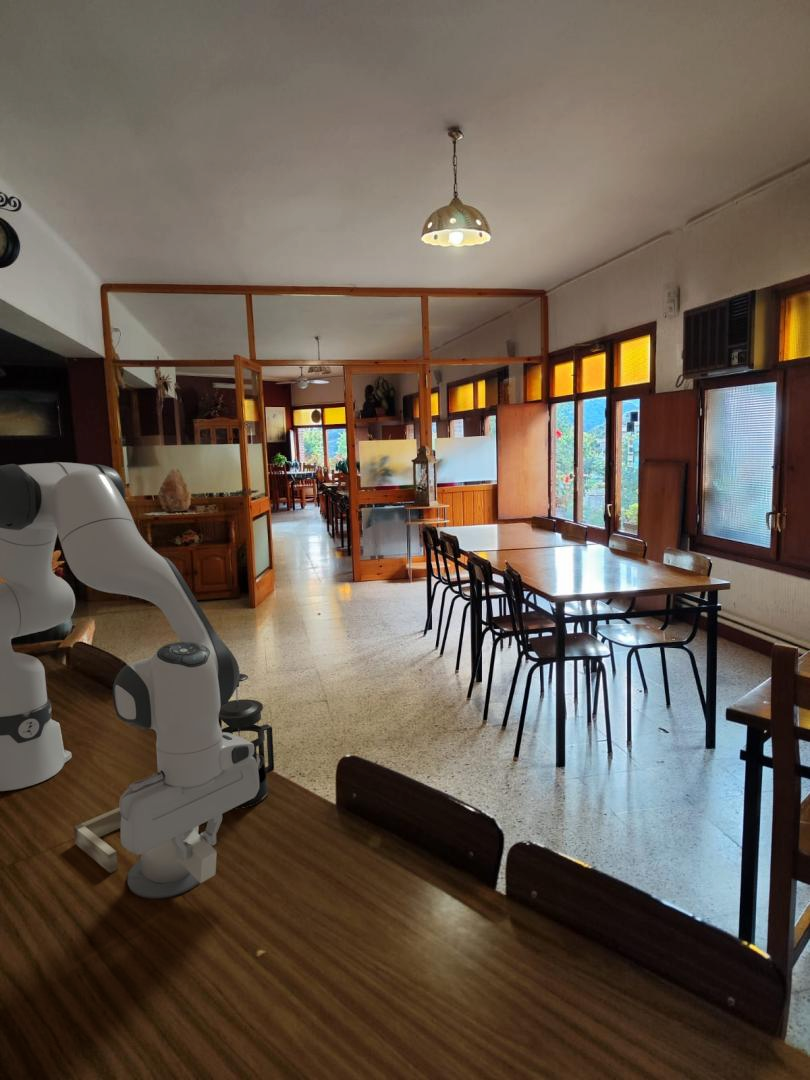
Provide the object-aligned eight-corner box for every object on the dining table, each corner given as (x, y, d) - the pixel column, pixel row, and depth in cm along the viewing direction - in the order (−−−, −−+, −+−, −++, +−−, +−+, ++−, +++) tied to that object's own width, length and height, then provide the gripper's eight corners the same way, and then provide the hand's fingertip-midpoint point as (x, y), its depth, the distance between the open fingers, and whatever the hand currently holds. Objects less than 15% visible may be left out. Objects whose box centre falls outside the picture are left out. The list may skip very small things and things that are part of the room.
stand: (75, 844, 108) (73, 826, 107) (144, 812, 117) (142, 796, 116) (110, 873, 100) (108, 854, 100) (181, 837, 109) (179, 820, 109)
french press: (228, 816, 115) (220, 690, 112) (204, 796, 122) (196, 677, 119) (286, 792, 123) (280, 673, 120) (260, 774, 130) (254, 661, 127)
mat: (112, 875, 99) (112, 872, 99) (184, 839, 108) (184, 836, 108) (154, 910, 92) (153, 906, 92) (227, 868, 101) (227, 864, 101)
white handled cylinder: (128, 860, 99) (130, 804, 97) (179, 835, 106) (181, 781, 103) (179, 918, 91) (182, 857, 88) (231, 886, 97) (235, 829, 95)
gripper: (130, 797, 82) (139, 898, 84) (263, 740, 98) (267, 827, 100) (107, 781, 86) (115, 878, 88) (237, 729, 102) (242, 813, 104)
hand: (197, 851), depth 94 cm, fingers closed on white handled cylinder, 2 cm apart
